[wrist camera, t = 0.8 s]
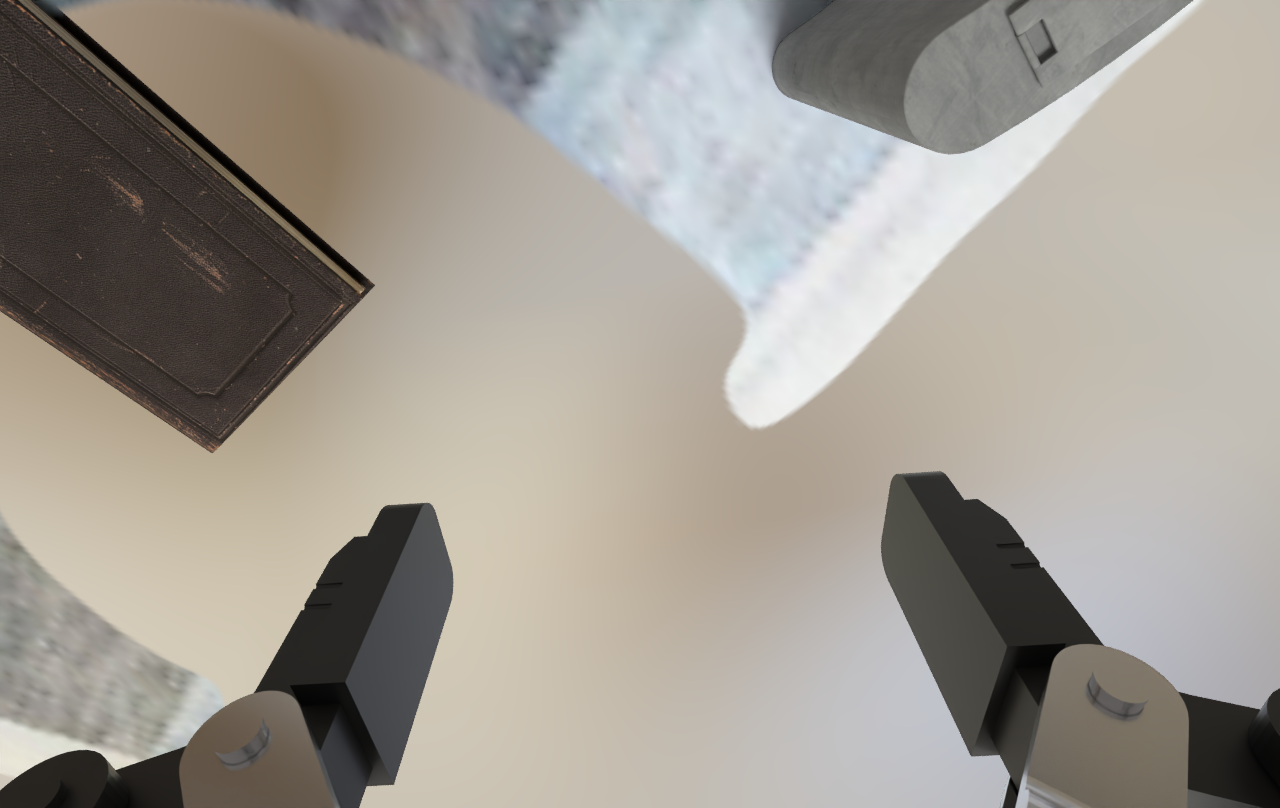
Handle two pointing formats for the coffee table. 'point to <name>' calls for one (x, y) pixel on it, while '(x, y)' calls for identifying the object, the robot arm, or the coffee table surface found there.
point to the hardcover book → (148, 238)
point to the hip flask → (955, 61)
